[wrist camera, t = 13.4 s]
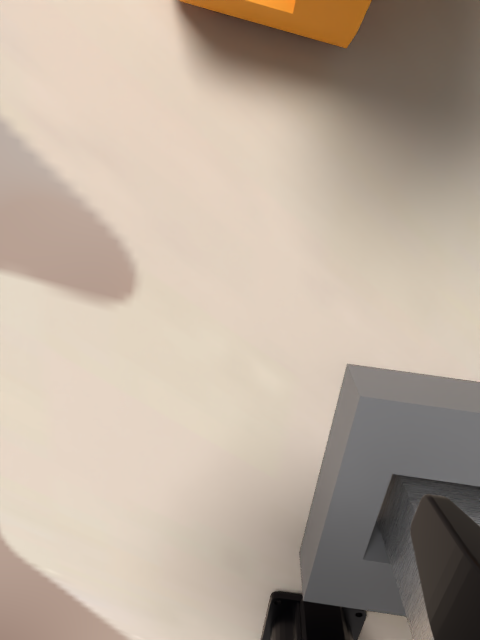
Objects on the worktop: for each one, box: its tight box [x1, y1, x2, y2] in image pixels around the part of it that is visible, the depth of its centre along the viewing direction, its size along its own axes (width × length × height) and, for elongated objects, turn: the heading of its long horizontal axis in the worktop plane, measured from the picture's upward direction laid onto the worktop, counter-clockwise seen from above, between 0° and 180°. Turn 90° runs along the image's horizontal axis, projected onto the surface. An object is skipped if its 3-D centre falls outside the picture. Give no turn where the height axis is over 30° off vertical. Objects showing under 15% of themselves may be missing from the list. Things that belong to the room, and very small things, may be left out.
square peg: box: [377, 474, 480, 640], centre depth 19 cm, size 4×4×8 cm
